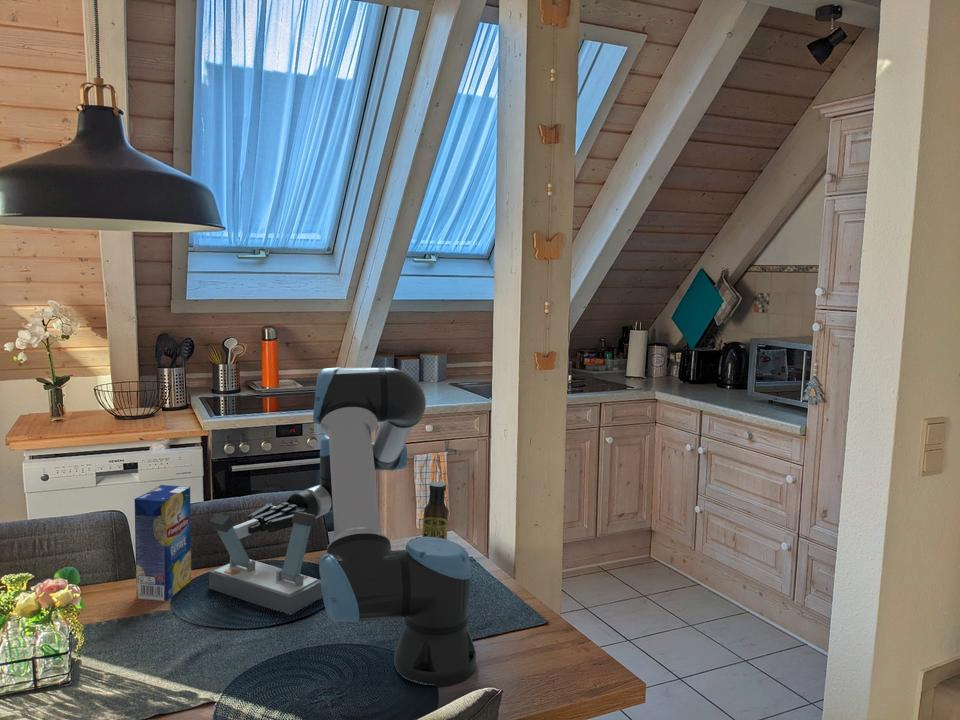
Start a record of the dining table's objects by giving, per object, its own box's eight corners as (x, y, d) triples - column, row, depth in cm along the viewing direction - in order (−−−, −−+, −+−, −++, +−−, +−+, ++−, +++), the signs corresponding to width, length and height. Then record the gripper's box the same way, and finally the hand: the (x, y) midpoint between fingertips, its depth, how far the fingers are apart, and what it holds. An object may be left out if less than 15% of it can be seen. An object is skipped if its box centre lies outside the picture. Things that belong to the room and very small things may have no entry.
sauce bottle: (419, 565, 188) (421, 486, 185) (422, 555, 194) (424, 479, 192) (445, 566, 188) (448, 488, 185) (447, 557, 194) (450, 480, 191)
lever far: (253, 563, 172) (229, 516, 164) (246, 571, 170) (222, 524, 163) (240, 559, 174) (216, 513, 166) (233, 567, 172) (209, 521, 165)
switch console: (322, 598, 168) (323, 570, 167) (291, 615, 159) (291, 586, 158) (242, 573, 179) (242, 547, 178) (209, 588, 170) (209, 561, 170)
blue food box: (191, 580, 174) (190, 486, 172) (166, 601, 164) (164, 501, 161) (162, 578, 175) (161, 484, 172) (136, 598, 164) (134, 499, 162)
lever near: (299, 582, 165) (315, 515, 168) (292, 582, 163) (308, 514, 166) (285, 578, 167) (301, 512, 169) (278, 578, 165) (294, 511, 167)
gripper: (328, 525, 186) (255, 556, 166) (288, 514, 193) (213, 543, 173) (328, 495, 185) (255, 523, 165) (288, 485, 192) (213, 511, 171)
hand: (234, 533), depth 169 cm, fingers closed
